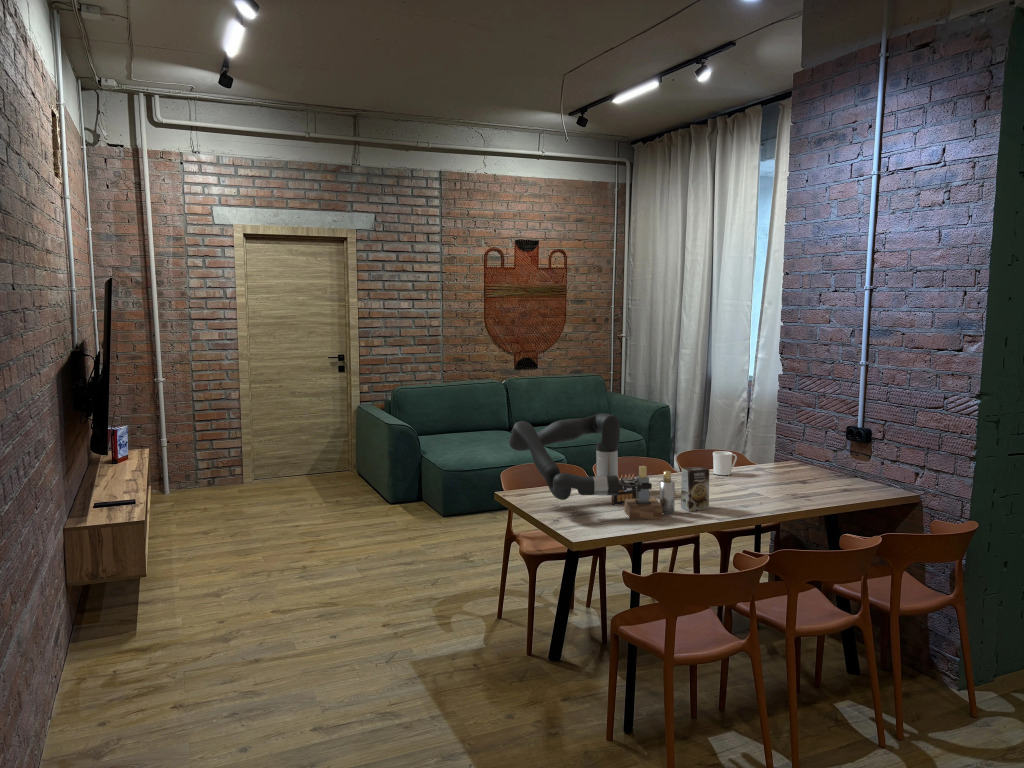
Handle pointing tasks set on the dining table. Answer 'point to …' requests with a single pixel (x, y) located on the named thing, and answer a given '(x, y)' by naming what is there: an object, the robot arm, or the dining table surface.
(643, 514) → the socket block
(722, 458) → the mug
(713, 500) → the dining table surface
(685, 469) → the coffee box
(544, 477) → the robot arm
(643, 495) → the square bit
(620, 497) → the ammunition clip
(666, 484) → the silver bottle
